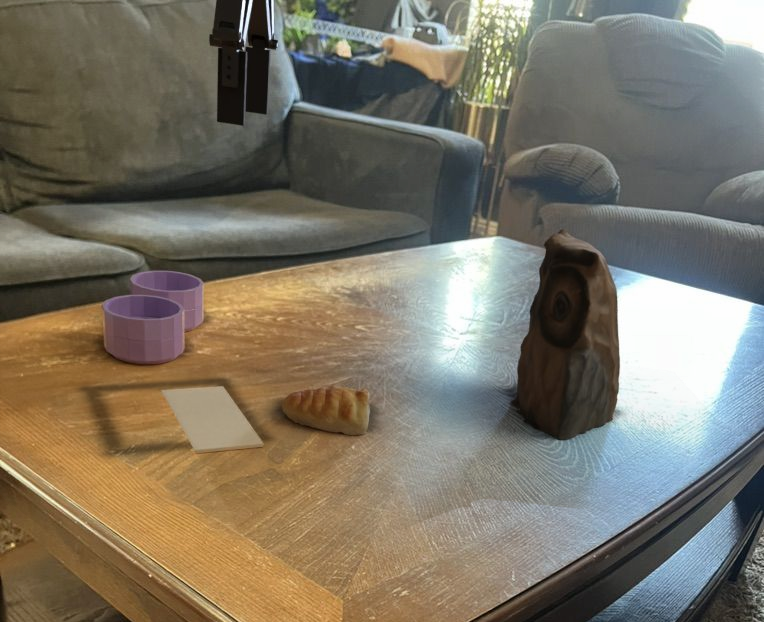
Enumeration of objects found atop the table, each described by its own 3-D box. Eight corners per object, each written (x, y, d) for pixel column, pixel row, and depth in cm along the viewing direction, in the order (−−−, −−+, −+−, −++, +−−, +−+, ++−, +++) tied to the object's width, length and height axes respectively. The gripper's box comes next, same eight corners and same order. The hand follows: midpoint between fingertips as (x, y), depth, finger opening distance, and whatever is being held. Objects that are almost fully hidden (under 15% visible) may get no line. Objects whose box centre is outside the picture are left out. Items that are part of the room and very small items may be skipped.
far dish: (139, 335, 97) (138, 292, 94) (126, 311, 104) (124, 270, 101) (211, 333, 101) (211, 291, 98) (193, 310, 107) (193, 270, 105)
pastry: (278, 429, 80) (281, 394, 78) (284, 402, 86) (286, 370, 84) (369, 438, 81) (374, 404, 79) (368, 411, 86) (372, 379, 84)
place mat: (114, 461, 70) (114, 457, 70) (90, 397, 80) (90, 394, 80) (263, 446, 76) (263, 443, 76) (222, 389, 86) (223, 386, 86)
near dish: (112, 368, 87) (109, 320, 85) (99, 340, 94) (96, 295, 91) (192, 364, 91) (192, 318, 88) (174, 337, 98) (173, 294, 95)
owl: (561, 446, 85) (612, 261, 75) (471, 404, 92) (507, 229, 82) (617, 420, 93) (671, 251, 83) (532, 383, 100) (571, 222, 90)
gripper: (269, -152, 63) (257, 134, 74) (308, -103, 84) (294, 113, 95) (177, -166, 63) (179, 123, 74) (239, -114, 84) (233, 104, 95)
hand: (244, 118), depth 85 cm, fingers open, 13 cm apart
